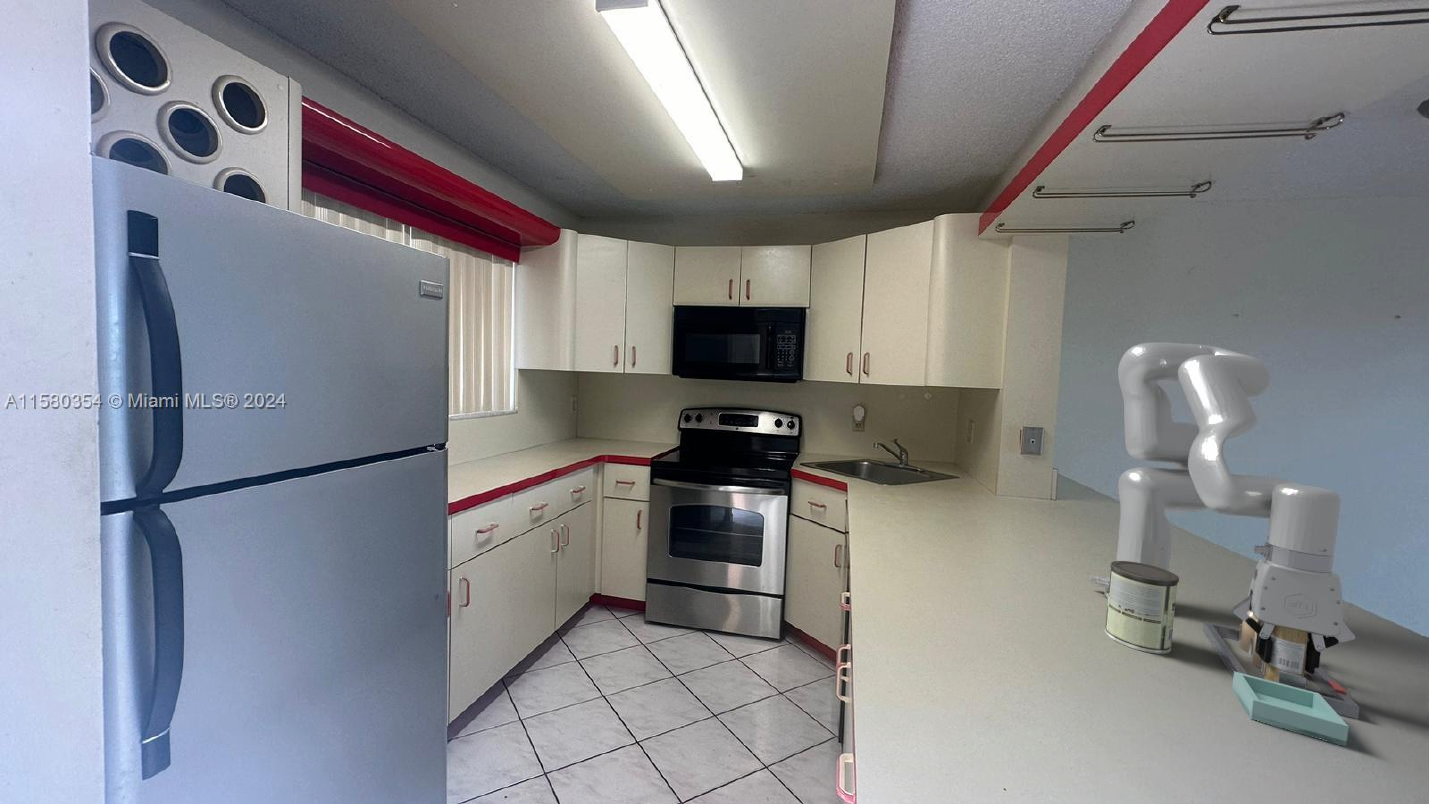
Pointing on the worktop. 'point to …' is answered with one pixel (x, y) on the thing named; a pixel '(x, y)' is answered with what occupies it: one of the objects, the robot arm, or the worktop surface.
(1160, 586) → the coffee can
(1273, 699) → the tray
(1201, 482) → the robot arm
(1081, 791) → the worktop surface
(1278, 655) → the sprinkles bottle
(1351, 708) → the frame
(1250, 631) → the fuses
